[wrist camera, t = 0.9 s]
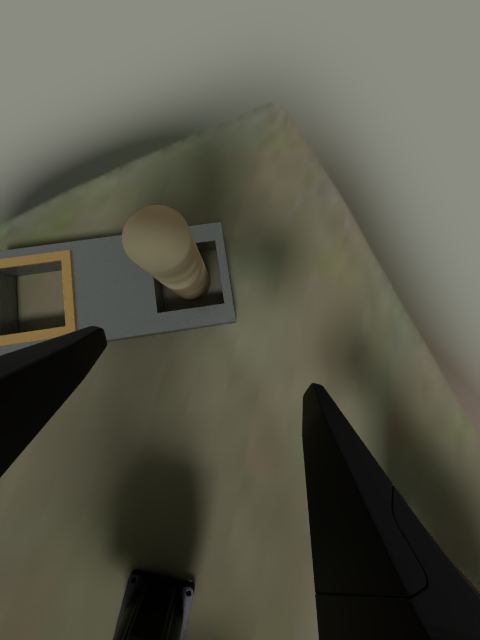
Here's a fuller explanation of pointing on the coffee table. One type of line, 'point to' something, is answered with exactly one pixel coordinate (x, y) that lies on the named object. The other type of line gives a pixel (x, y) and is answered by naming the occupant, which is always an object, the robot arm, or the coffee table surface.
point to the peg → (166, 250)
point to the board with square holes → (106, 290)
